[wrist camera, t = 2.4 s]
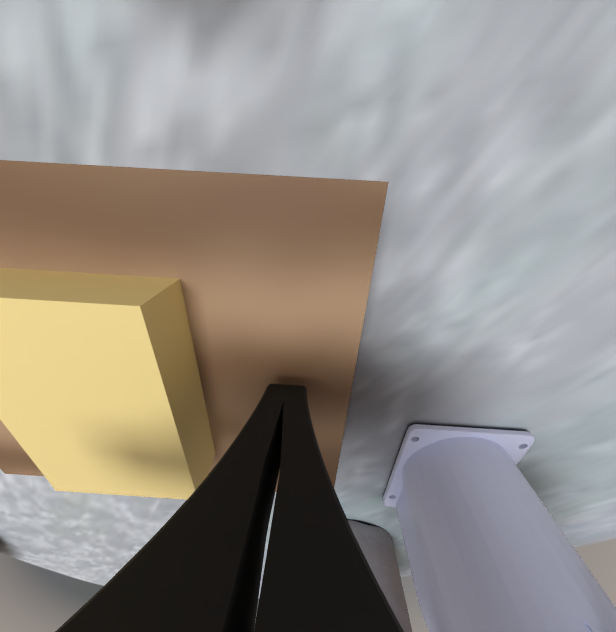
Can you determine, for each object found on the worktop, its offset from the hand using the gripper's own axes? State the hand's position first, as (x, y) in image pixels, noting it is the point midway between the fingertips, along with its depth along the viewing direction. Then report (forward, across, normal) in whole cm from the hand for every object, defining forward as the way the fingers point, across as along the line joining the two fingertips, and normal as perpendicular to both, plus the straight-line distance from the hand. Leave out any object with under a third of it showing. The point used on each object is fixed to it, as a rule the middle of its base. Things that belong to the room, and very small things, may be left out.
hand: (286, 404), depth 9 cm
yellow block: (+1, +6, 0) cm, 7 cm away
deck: (+5, +6, 0) cm, 8 cm away
